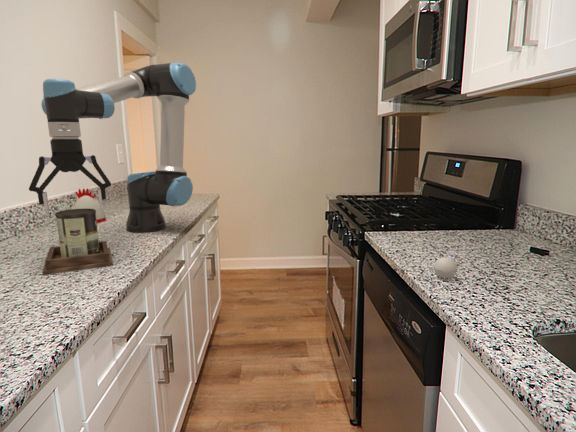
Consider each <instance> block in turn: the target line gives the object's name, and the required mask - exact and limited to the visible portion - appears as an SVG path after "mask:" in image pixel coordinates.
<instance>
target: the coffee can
mask: <svg viewBox="0 0 576 432" xmlns="http://www.w3.org/2000/svg"><path fill="white" fill-rule="evenodd" d="M54 215H55V218H56V219H55V220H56V226H57V228H56V229H57V234H58V242H59V246H60V250H61V258H66V257H74V256H82V255H90V254H98V253H100V249H99V242H100V241H99V232H98V223H97V221H96V210H95V209H72V208H71V209H66V210H60V211H57V212H55V213H54Z"/></svg>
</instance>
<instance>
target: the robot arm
mask: <svg viewBox="0 0 576 432" xmlns="http://www.w3.org/2000/svg"><path fill="white" fill-rule="evenodd" d="M196 88H197V81H196V77H195V75H194V73H193V71H192V69H191V68H190V67H189V66H188V65H187V64H186V63H184V62H175V61H174V62H173V61H172V62H168V63H160V64H159V63H157V64H149V65H146V66H143V67H141V68H138V69H134V70H131V71H129V72H126V73H125V74H124V75H123V76H121V77H117V78H114V79H110V80H106V81H102V82H99V83H94V84H90V85H86V86H83V87H80V88H76V85H75V83H74V81H72V80H69V79H63V78H47V79H45V80H43V83H42V91H43V92H42V93H43V95H42V96H43V98H42V100H41V105H40V106H41V109H42V111H43V113H44V114H45V115H46V119H47V127H48V135H49V137H50V138H51V139H50V148H51V149H50V150H51V157H50V156H49V157H48V156H47V157H46V156H43V155H42V156H39V158H38V165H37V166H38V167H37V169H36V171H35V173H34V176H33V177H32V181H31V183H30V185H29V188H28V190H29V192H35V193H36V194H37V198H38V204H39V205H44V206H43V207H44V214H45V217H50V214H51V213H50V205H49V199H48V192H47V191H44V190H45V189H46V188H47V187H48V185H49V184H50V183H51V182H52V181H53V180H54V178H55V177H56V176H57V175H58V173H59V172H62V173H69V172H71V173H74V172H75V173H76V172H79V171H80V172H82V174H84V175H85V176H86V177H87V178H88V179H90V180H91V181H92V183H94V184H95V185H96V186H98V188H97V195H98V196H97V197H98V202H99V205H100V212H101V211H103V210H104V207H103V201H104V200H106V199H107V196H106V189H107V188H109V187H111V186H112V183H111V181H110V179H109V178H108V177H107V175H106V173H105V172H104V170H102V168H101V167H100V165H99V164H98V162H97V157H96V155H94V154H93V155H87V156H86V155H84V151H83V143H82V140H81V139H80V138H81V135H82V133H81V128H80V127H81V125H80V119H99V120H101V119H102V120H103V119H109V118H111V117H112V116H113V115H114V113H115V107H116V106H115V104H116V103H120V102H122V101H125V100H129V99H132V98H133V99H141V98H147V97H156V98H157V99H158V101H159V102H160V103H161V105H160V106H161V109H160V110H161V112H160V150H159V166H158V167H157V168H155V171H154V170H153V171H144V172H137V173H130V174H129V175H128V176H127V178H126V180H127V182H126V183H127V184H126V187H127V196H128V205H129V206H128V207H129V212H128V216H127V221H126V225H125V226H126V232H127V231H128V232H131V233H151V232H157V231H161V230H164V229H165V228H166V227H167V225H166V219H165V218H164V216H163V215H164V214H163V213H162V210H161V206H170V207H181V206H184V205H185V204H187V203H188V201H190V199H191V197H192V194H193V191H194V190H193V189H194V186H193V182H192V180H191V178H190V177H188V173H187V171H186V169H185V168H184V150H185V149H184V146H185V145H184V144H185V142H184V140H185V113H186V112H185V111H186V110H185V107H186V105H187V104H188V103H189V102H190V96H192V95H193V94H194V93H195V91H196ZM86 161H88V163H89V164H92V165H93V167H94V169H95V170H96V172H97V173H98V175H99V176H100V177H101V179H102V180H103V182H104V183H102V182H101V181H100V180H99V179H98V178H97V177H96V176H95V175H93V173H91V172H90V171H89V170H88V169H87V168H86V167H85V166H84V164H85V162H86ZM50 162H51V163H52V164H53V165H54V166H55V167H54V168H53V170H52V171H51V173H50V174H49V175H48V176H47V177H46V178H45V180H44V181H43V182H42V183H41V184H40V185H39V186H37V185H38V183H39V181H40V179H41V176H42V174H43V171H44V169H45V166H47V165H48V164H49V163H50Z"/></svg>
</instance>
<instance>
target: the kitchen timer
mask: <svg viewBox="0 0 576 432" xmlns="http://www.w3.org/2000/svg"><path fill="white" fill-rule="evenodd" d="M74 193H75V195H76V196H77V197H78V198H77V200H76V201H75V202H74V204H73V205H72V208H71V209H95V210H96V221H97V224H101V223H103V222H106V220H107V218H106V217H107V216H106V213H105V210H104V209H103V211H101V212H100V205H99V200H97V199H96V198H95V197H96V193H93V191H92V190H90V191H89V188H86V189H85V188H83V189H82V190H81V188H78V192H77V191H75V192H74ZM92 193H93V194H92Z"/></svg>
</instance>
